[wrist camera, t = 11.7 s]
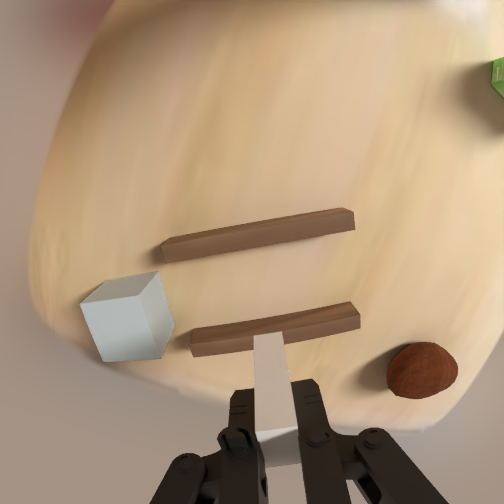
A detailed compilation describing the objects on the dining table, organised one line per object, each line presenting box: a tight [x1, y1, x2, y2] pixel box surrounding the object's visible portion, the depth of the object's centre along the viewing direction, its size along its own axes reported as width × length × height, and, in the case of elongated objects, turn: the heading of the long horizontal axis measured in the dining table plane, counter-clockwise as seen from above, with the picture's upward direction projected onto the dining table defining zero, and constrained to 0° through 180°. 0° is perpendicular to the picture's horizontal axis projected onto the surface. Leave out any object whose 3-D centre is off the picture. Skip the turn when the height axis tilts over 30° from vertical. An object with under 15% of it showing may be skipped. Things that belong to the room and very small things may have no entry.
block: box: [80, 271, 175, 362], centre depth 26 cm, size 6×6×6 cm
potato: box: [386, 342, 458, 399], centre depth 28 cm, size 7×9×6 cm
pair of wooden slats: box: [161, 208, 360, 357], centre depth 27 cm, size 11×16×3 cm
